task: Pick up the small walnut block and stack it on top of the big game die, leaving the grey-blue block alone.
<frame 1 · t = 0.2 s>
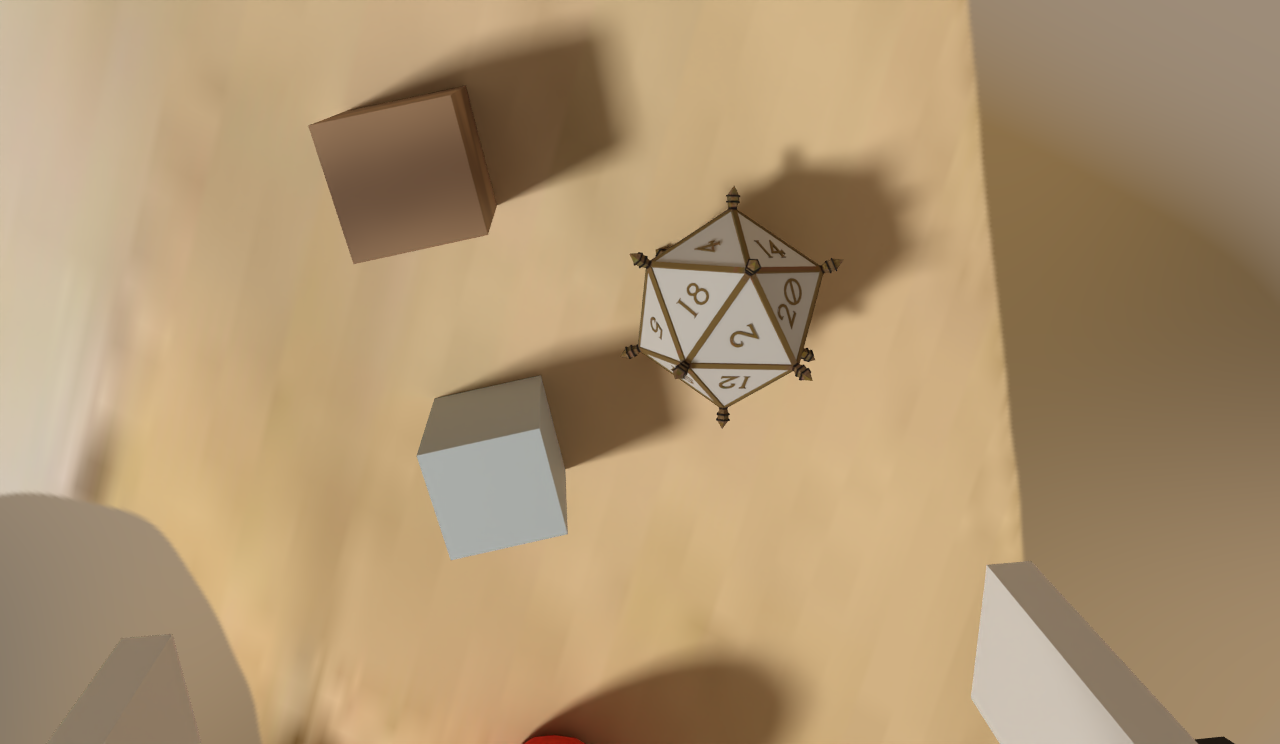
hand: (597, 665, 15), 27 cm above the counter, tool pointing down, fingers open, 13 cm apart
game die: (710, 283, 41), on the counter
walnut block: (423, 159, 37), on the counter
grey-blue block: (501, 434, 42), on the counter
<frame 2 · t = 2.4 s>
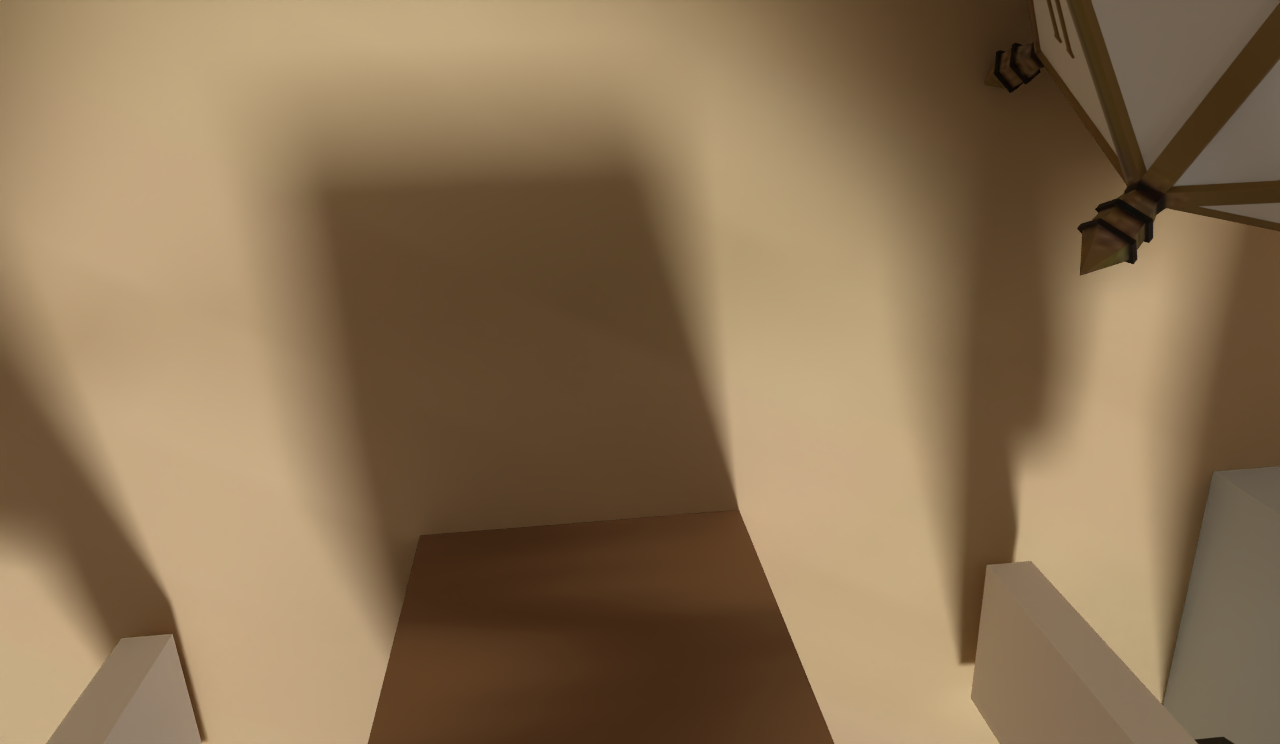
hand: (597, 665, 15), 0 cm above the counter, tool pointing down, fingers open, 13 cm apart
walnut block: (590, 651, 15), on the counter
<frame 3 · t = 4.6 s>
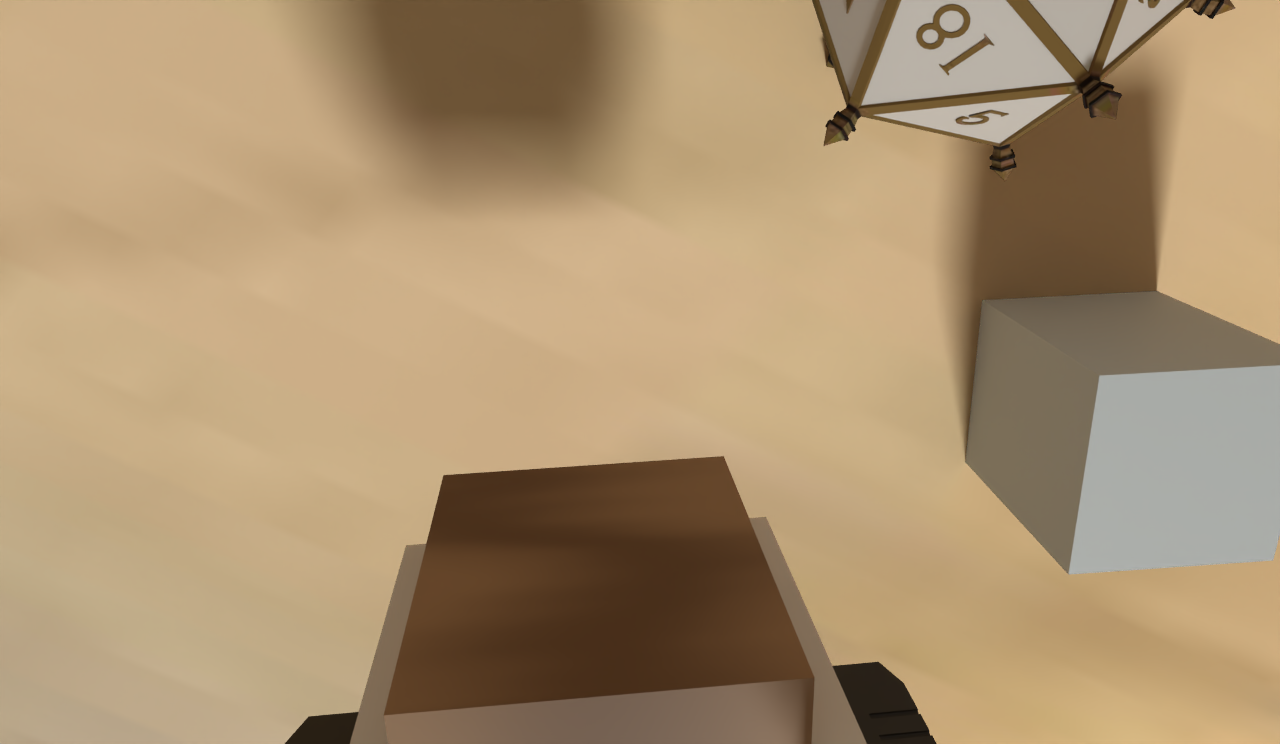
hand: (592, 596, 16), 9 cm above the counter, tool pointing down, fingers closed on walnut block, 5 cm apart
walnut block: (592, 584, 17), point 9 cm above the counter, touching gripper
grey-blue block: (1057, 378, 26), on the counter
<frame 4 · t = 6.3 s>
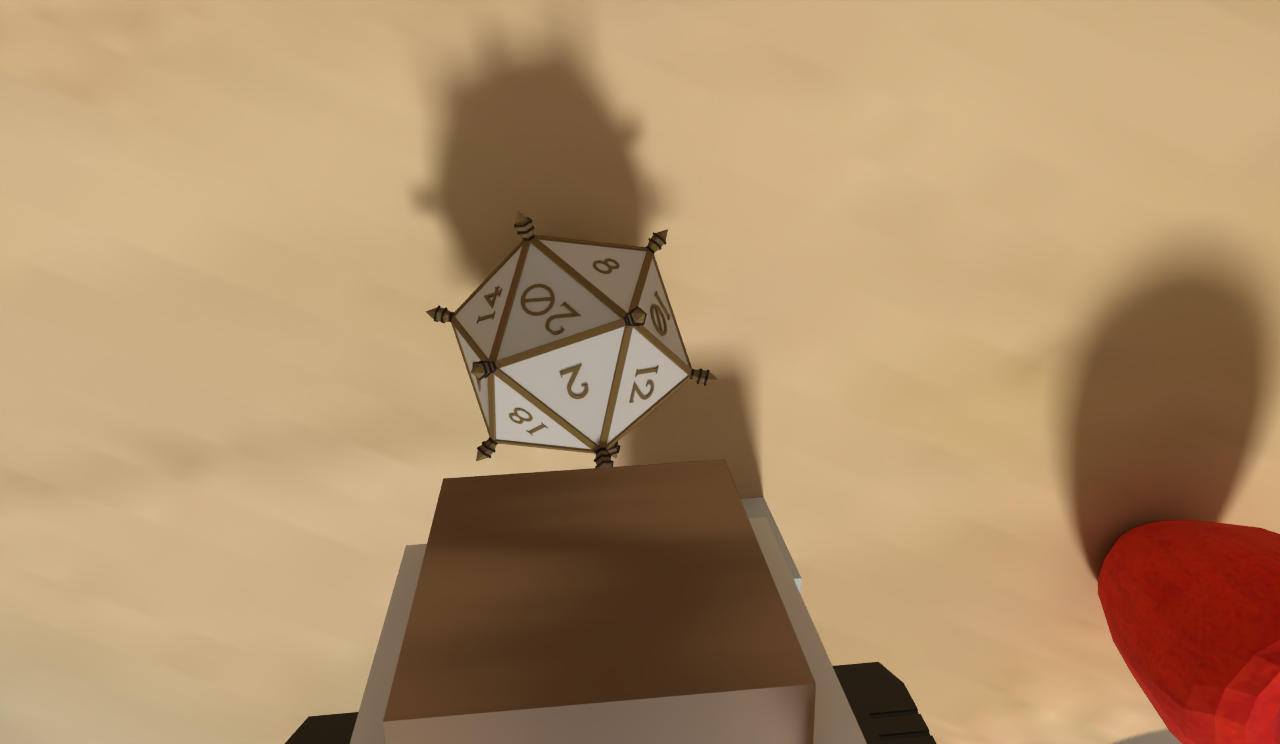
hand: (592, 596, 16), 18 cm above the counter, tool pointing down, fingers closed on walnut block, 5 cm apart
game die: (569, 309, 34), on the counter
walnut block: (592, 588, 17), point 18 cm above the counter, touching gripper
grey-blue block: (704, 553, 38), on the counter
red rounded piece: (1144, 553, 40), on the counter
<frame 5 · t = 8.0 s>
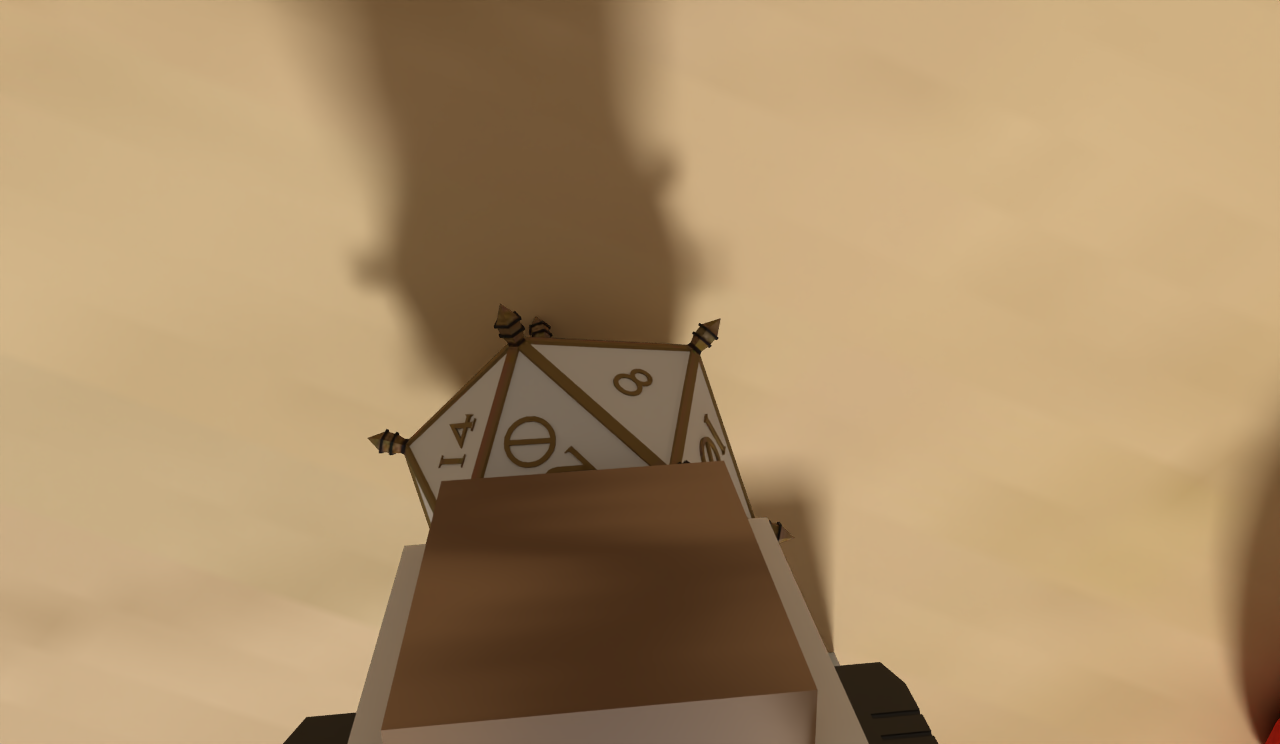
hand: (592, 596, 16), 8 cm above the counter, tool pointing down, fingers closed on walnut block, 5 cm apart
game die: (574, 415, 24), on the counter, touching gripper, walnut block
walnut block: (591, 590, 17), point 8 cm above the counter, touching game die, gripper
when the fingers open (8 cm above the counter, at t = 8.7 s): walnut block stays where it is, resting on game die.
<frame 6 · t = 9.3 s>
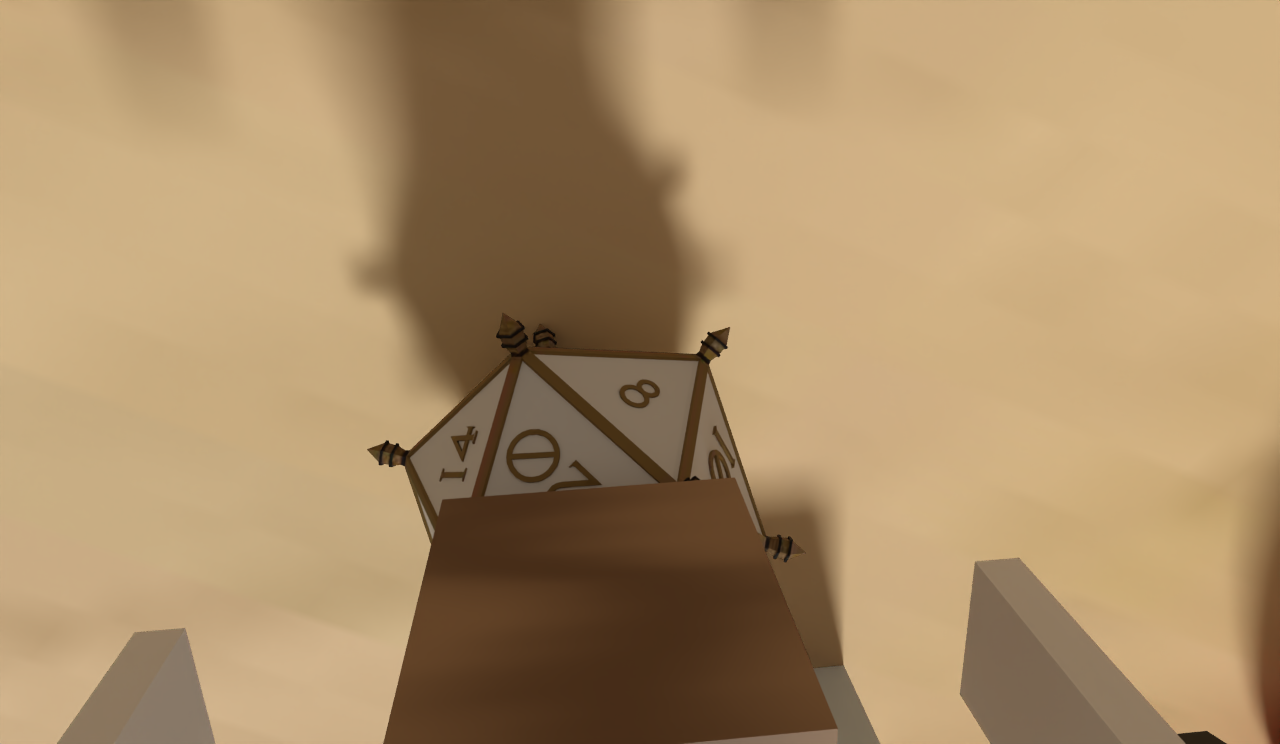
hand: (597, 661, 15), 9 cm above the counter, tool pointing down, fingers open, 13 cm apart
game die: (580, 424, 24), on the counter, touching walnut block
walnut block: (598, 611, 16), point 8 cm above the counter, touching game die
grey-blue block: (761, 737, 28), on the counter
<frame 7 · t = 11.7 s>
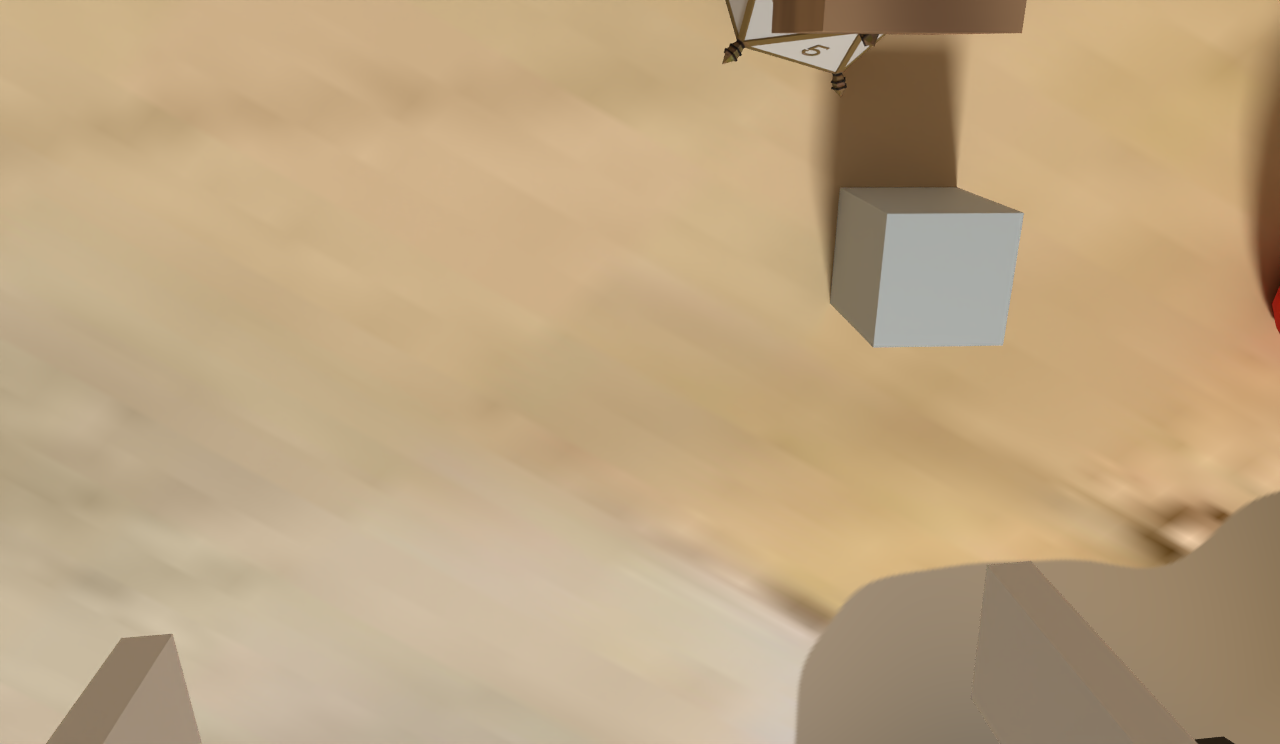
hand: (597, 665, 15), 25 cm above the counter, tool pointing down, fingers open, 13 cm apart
grey-blue block: (891, 246, 38), on the counter
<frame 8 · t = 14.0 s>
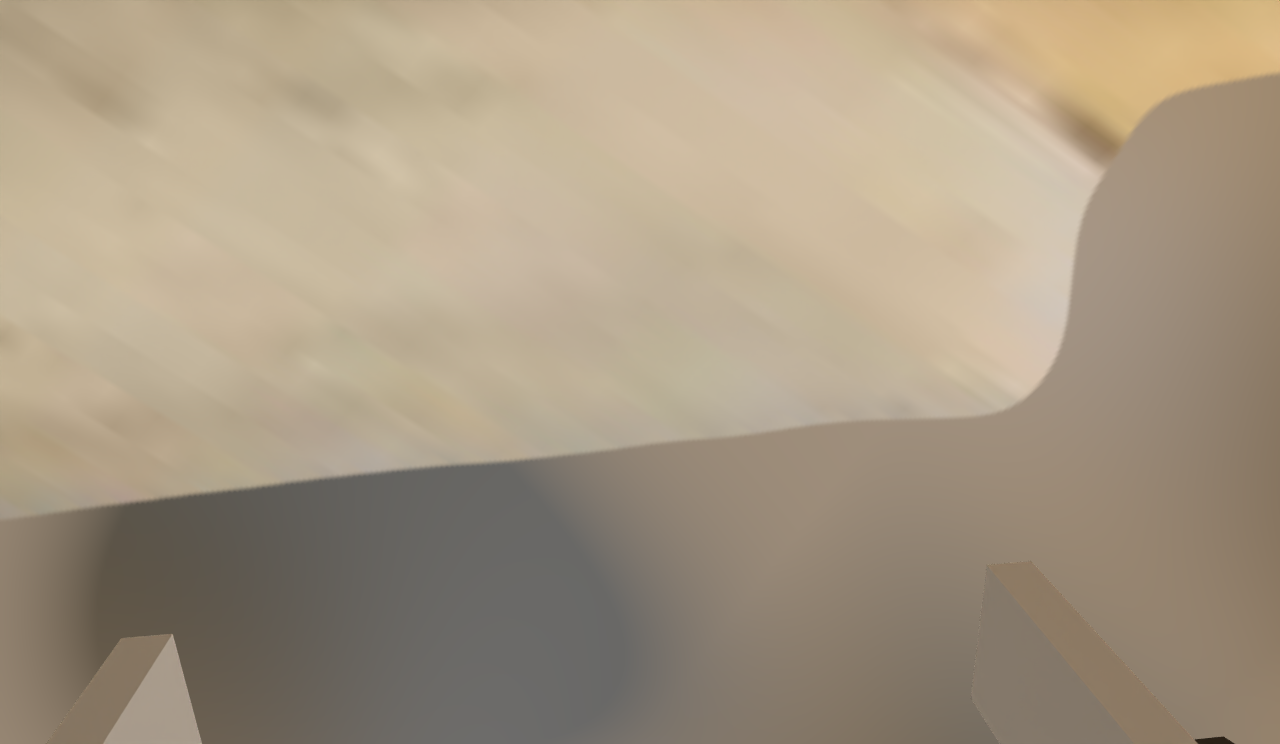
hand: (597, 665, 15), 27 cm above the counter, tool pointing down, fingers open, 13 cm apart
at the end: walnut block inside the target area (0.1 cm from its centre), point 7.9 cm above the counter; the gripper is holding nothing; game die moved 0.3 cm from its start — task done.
